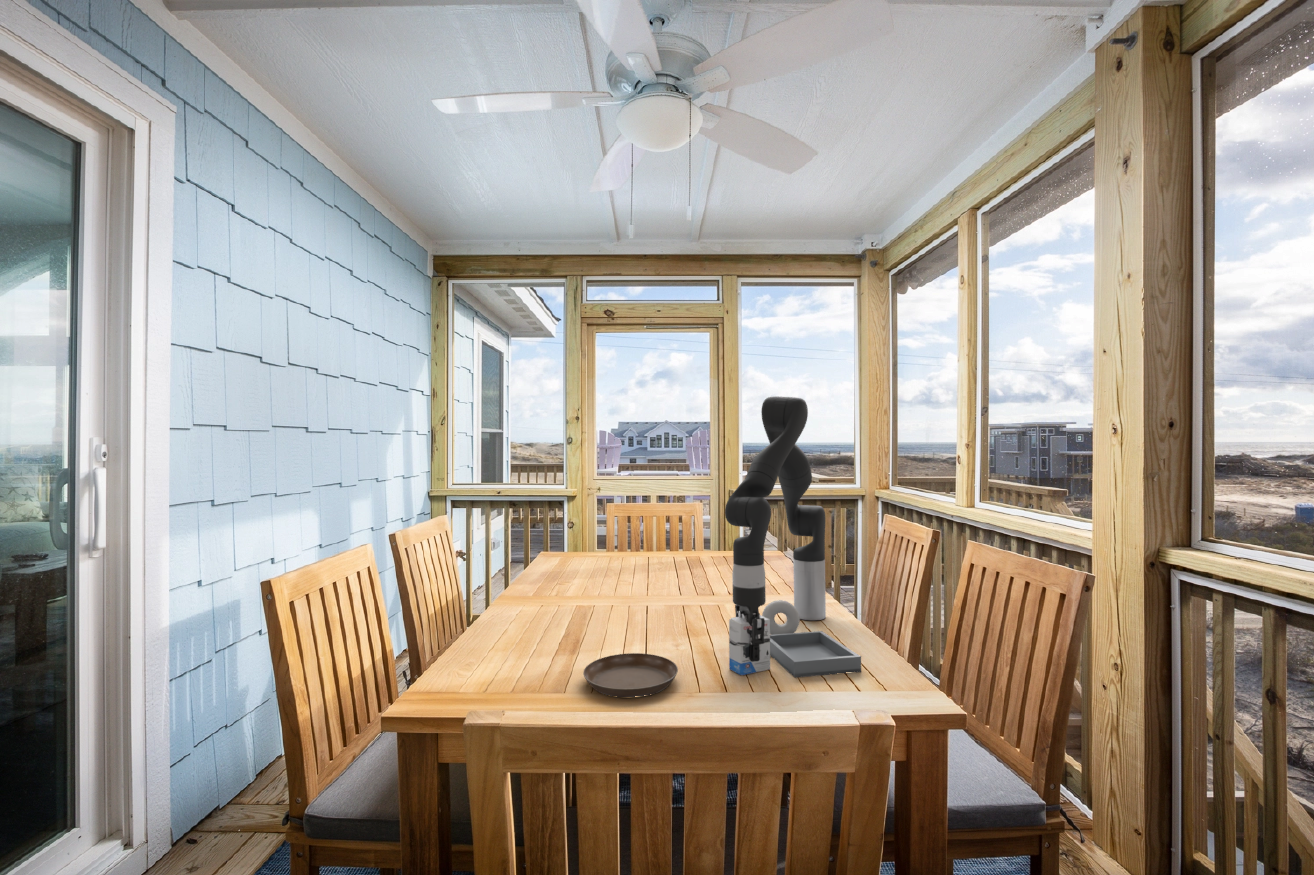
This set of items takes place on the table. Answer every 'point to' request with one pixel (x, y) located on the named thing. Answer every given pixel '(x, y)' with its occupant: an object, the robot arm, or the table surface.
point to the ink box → (747, 647)
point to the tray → (812, 654)
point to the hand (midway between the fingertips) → (749, 655)
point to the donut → (786, 609)
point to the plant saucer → (630, 674)
